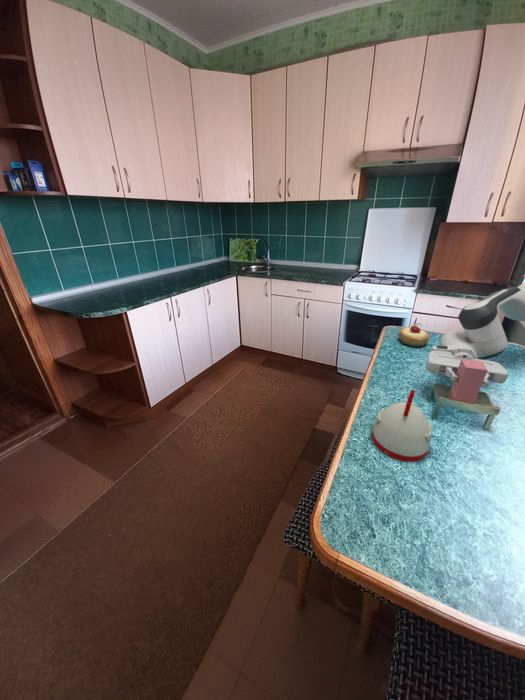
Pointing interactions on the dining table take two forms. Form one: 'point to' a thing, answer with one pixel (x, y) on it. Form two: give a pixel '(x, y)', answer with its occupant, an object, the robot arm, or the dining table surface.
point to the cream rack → (463, 403)
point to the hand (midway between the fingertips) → (469, 381)
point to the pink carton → (468, 380)
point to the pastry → (414, 336)
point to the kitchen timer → (402, 431)
